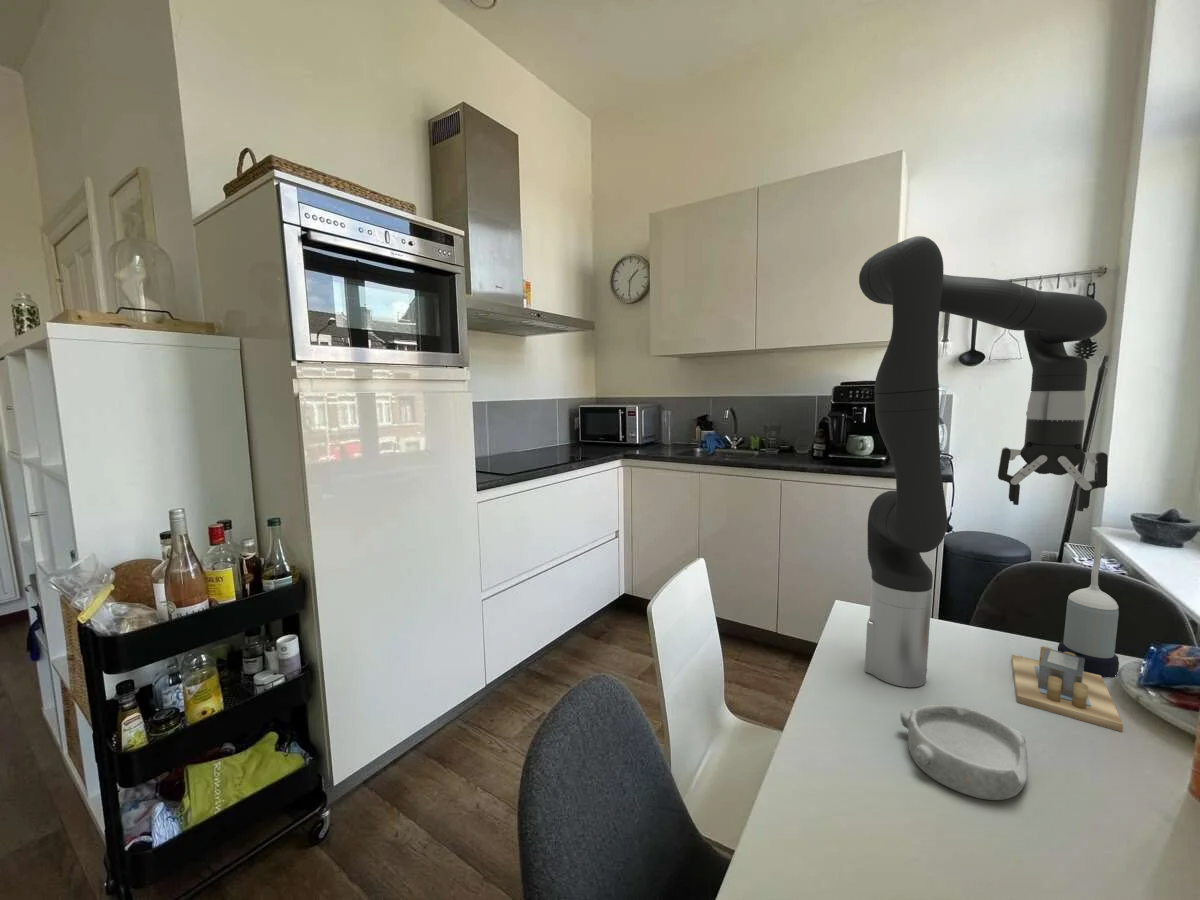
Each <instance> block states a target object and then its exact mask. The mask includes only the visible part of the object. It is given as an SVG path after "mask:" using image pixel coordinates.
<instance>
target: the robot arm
mask: <svg viewBox="0 0 1200 900" xmlns="http://www.w3.org/2000/svg"><path fill="white" fill-rule="evenodd" d="M858 284H859V288H860V290H861V291H862V294H863V295H864V296H865V297H866V298H867V299H868V300H870V301H872V302H873V303H875V304H876V303H877V304H880V305H890V306H892V330H891V334H890V335H891V336H890V340H889V342H888V345H887V348H886V350H885V353H884V355H883V357H882V359H881V363H880V364H879V368H878V370H877V373H876V377H875V382H874V412H875V421H876V425H877V428H878V431H879V434H880V437H881V439H882V441H883V443H884V445H885V447H886V450H887V451H888V454H889V457H890V459H891V462H892V465H893V468H894V473H895V481H896V482H895V488H896V489H895V490H888V491H887V490H886V491H884V492H882V493H881V494H879V495H878V496H876V497H875V499H874V500H873V502H872V503H871V505H870V508H869V512H868V516H867V560H868V563H869V566H870V568H871V580H870V581H871V582H870V585H871V586H870V598H869V599H870V600H869V601H870V605H869V618H868V620H867V623H866V634H865V635H866V639H865V640H866V641H865V656H864V657H865V659H864V672H865V673H869V674H870V675H872V676H874V677H875V678H877V679H879V680H881V681H883V682H885V683H888V684H891V685H894V686H898V687H904V688H917V687H921V686H923V685H925V684H926V682H927V674H928V659H929V658H928V655H929V643H930V642H929V640H930V638H929V637H930V624H931V610H932V596H933V595H932V594H933V577H934V576H933V573H932V569H930V567H929V566H928V565H927V563H926V562H925V561H924V559H923V557H922V555H921V554H922V553H929V552H931V551H933V550H935V549H936V548H937V547H939V546H940V544H941V543H942V542H943V540H944V538H945V537H946V536H945V535H946V532H947V529H948V512H947V504H946V499H945V490H944V484H943V483H944V482H943V476H942V475H943V474H942V467H941V444H940V443H941V442H940V441H941V440H940V384H939V326H940V325H939V324H940V313H941V312H942V313H946V314H950V315H954V316H960V317H964V318H966V319H967V318H968V319H971V320H973V321H978V322H981V323H985V324H988V325H991V326H995V327H998V328H1002V329H1006V330H1009V331H1017V332H1018V331H1019V332H1020V331H1021V332H1022V331H1023V336H1024V341H1025V345H1026V349H1027V354H1028V357H1029V361H1030V364H1031V369H1032V373H1031V374H1032V375H1031V384H1030V385H1031V387H1030V394H1029V398H1028V402H1027V407H1026V408H1027V409H1026V412H1025V413H1026V414H1025V416H1026V419H1025V420H1026V422H1025V434H1024V443H1023V444H1024V445H1023V447H1022V448H1021V449H1016V448H1015V449H1014V448H1009V447H1002V448H1001V453H1000V457H999V464H998V471H997V478H998V479H999V480H1000V481H1004V482H1006V483H1008V484H1009V485H1008V486H1009V488H1008V499H1009V502H1012V505H1013V506H1019V504H1020V503H1019V502H1020V501H1019V500H1020V491H1021V489H1020V488H1021V485H1020V483H1021V482H1022V481H1023V480H1024V479H1025V478H1027V477H1029V476H1030V475H1031V474H1033V472H1034V473H1037V474H1039V475H1048V474H1049V475H1050V474H1052V475H1055V476H1063V475H1066V474H1068V475H1069V476H1070V477H1072V479H1073V480H1074V481H1075V482H1076V483H1077V484H1078V485H1079V488H1077V493H1076V500H1075V501H1076V503H1075V510H1076V511H1077V512H1084V509H1087V510H1088V508H1089V507H1090V499H1091V492H1092V490H1095V489H1104V488H1107V486H1108V466H1109V464H1108V462H1109V461H1108V460H1109V458H1108V454H1107V452H1104V451H1097V452H1084V450H1083V439H1084V428H1085V418H1086V417H1085V416H1086V407H1087V401H1086V388H1087V387H1086V386H1087V375H1088V363H1087V360H1086V359H1085V358H1083V357H1082V356H1081V357H1080V356H1075V355H1074V356H1073V355H1069V354H1067V351H1066V348H1065V344H1064V343H1072V342H1080V341H1084V340H1088V339H1091V338H1092V337H1095V336H1096V335H1098V334H1099V333H1100V332H1101V331H1102V330H1103V329H1104V328H1105V326H1106V324H1107V321H1108V320H1107V319H1108V314H1107V310H1106V308H1105V307H1104V306H1103V305H1102V303H1100V302H1099V301H1098V300H1096V299H1094V298H1092V297H1089V296H1087V295H1082V294H1076V293H1075V294H1074V293H1069V292H1068V293H1067V292H1066V293H1065V292H1057V291H1042V290H1037V289H1035V288H1032V287H1029V286H1025V285H1022V284H1019V283H1016V282H1013V281H1008V280H1003V279H995V278H989V277H978V276H977V277H975V276H961V275H960V276H959V275H958V276H957V275H948V274H944V259H943V255H942V252H941V250H940V247H939V246H938V245H937V243H936V241H934V240H933V239H931V238H929V237H926V236H922V235H921V236H920V235H917V236H913V237H909V238H906V239H905V240H902V241H899V242H897V243H895V244H893V245H891V246H889V247H887V248H885V249H882V250H880V251H878V252H876V253H875V254H874V255H872V256H871V257H869V258H868V259H867V260H866V261H865V262H864V264H863V265H862V266H861V269H860V271H859V274H858ZM1017 456H1020V457H1021V459H1022V460H1023V461H1024V462H1025V463H1026V464H1024V465H1023V466H1022V467H1021V468H1019V470H1018V471H1017V472H1015V473H1014V474H1013V475H1011V474H1008V472H1009V464H1010V461H1014V460H1015V459H1016V457H1017ZM1085 459H1087V460H1088V462H1089V464H1090V465H1092V466H1094V479H1093V480H1087V479H1086V477H1085V476H1084V475H1083V474H1082V473H1081V472H1080V471H1079V470H1078V469H1077V468H1076V466H1077V467H1078V465H1079V464H1081V463H1082V462H1083V461H1084V460H1085Z"/></svg>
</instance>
